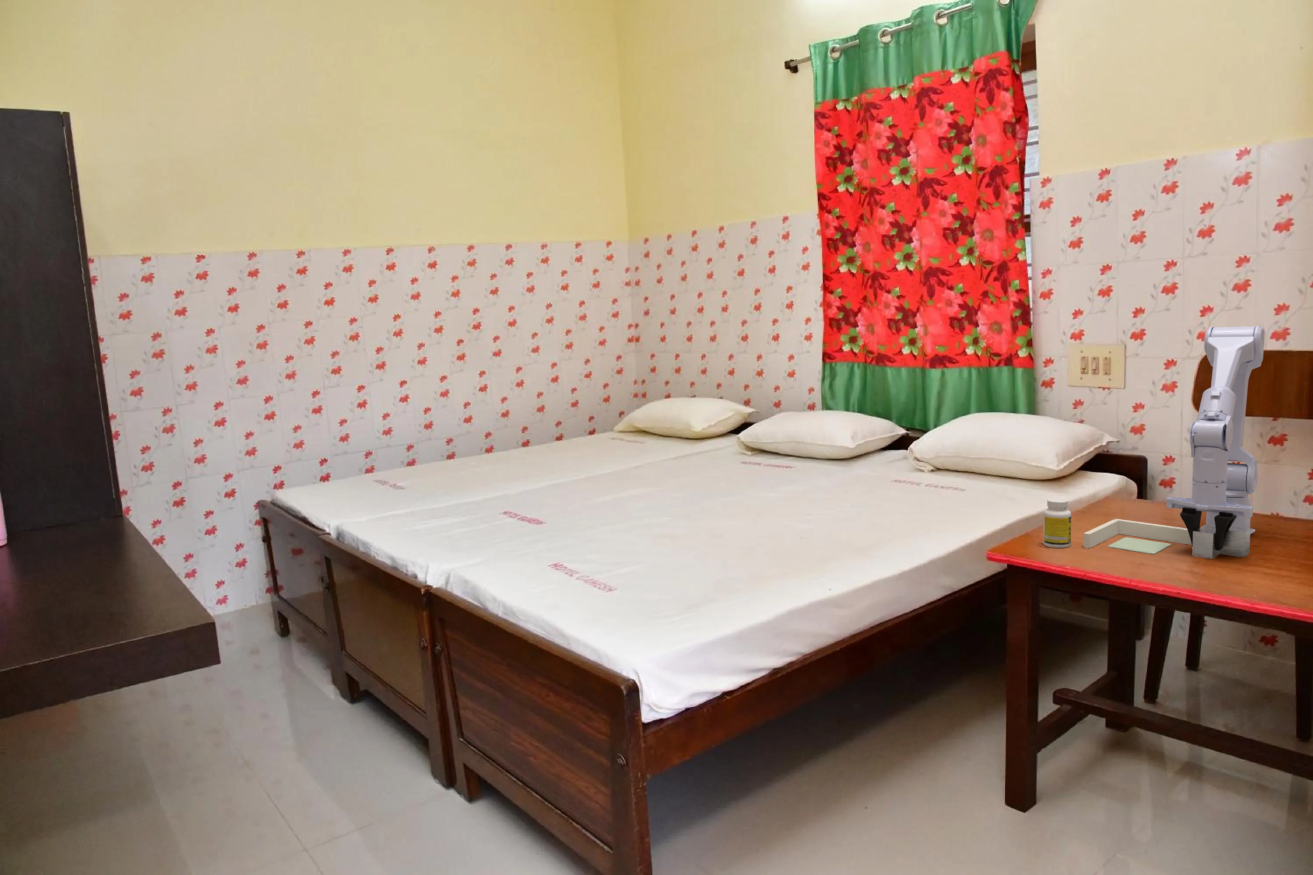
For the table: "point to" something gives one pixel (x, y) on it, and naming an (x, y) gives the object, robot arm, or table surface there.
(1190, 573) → the table surface
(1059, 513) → the supplement bottle
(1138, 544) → the mat
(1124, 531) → the arena
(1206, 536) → the bracket
